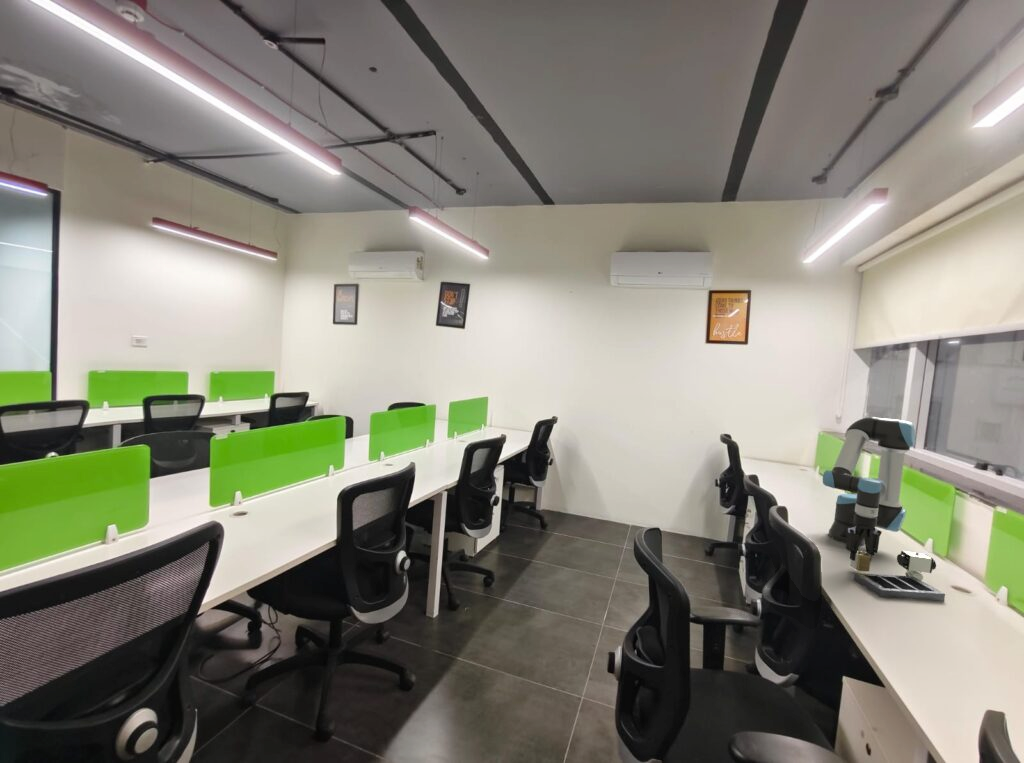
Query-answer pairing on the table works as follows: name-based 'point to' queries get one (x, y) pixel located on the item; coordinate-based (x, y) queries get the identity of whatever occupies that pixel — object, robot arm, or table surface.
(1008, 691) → the table surface
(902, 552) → the white security camera
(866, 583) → the grey slotted tray
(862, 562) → the tan rectangular block
